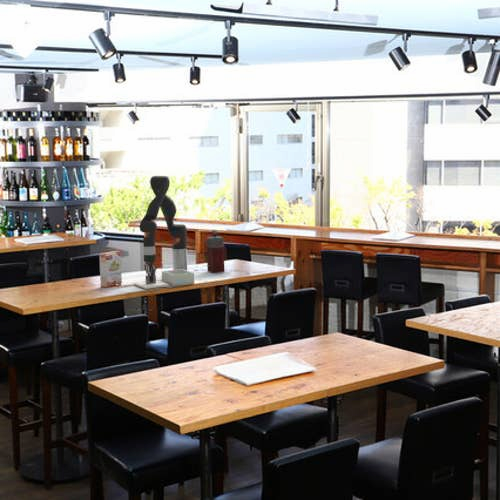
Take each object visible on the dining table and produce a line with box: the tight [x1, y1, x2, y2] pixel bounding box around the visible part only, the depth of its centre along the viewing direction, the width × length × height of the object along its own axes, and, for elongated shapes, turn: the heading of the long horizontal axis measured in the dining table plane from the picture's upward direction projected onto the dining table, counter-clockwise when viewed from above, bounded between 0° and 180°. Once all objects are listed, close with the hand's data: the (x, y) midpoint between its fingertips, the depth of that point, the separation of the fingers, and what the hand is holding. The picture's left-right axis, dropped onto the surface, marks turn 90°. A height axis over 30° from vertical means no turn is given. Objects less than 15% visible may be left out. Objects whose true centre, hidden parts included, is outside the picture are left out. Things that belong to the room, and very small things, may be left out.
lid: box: [133, 274, 170, 290], centre depth 521 cm, size 19×15×6 cm
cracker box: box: [98, 250, 123, 288], centre depth 527 cm, size 14×6×21 cm, turn 148°
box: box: [161, 269, 195, 287], centre depth 529 cm, size 18×14×7 cm
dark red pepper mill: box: [206, 229, 228, 274], centre depth 568 cm, size 9×11×28 cm
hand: (150, 281), depth 521 cm, fingers closed
